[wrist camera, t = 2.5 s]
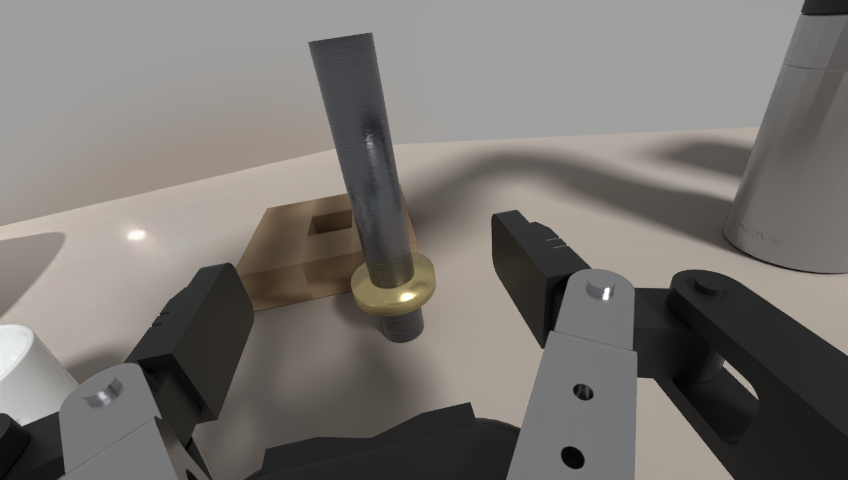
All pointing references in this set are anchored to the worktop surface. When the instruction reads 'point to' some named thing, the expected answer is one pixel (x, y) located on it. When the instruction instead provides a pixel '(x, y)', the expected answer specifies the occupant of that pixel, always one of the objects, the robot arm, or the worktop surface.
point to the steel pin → (372, 186)
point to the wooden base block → (305, 252)
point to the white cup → (30, 376)
